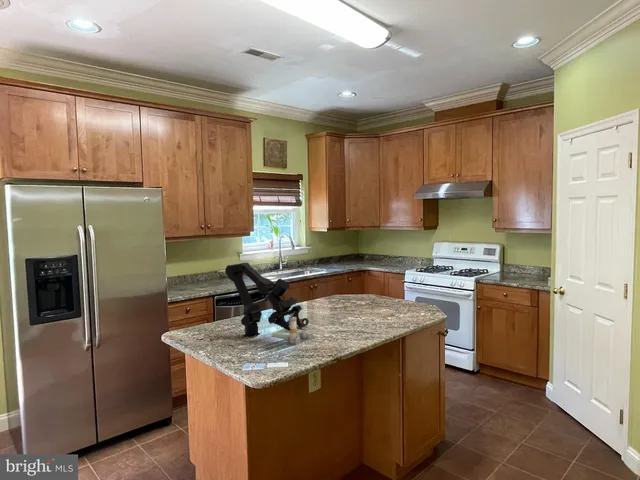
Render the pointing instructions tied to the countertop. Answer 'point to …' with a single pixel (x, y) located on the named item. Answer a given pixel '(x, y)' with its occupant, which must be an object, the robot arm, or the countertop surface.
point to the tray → (278, 334)
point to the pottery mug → (301, 323)
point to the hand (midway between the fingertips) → (295, 328)
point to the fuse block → (299, 339)
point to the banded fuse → (292, 329)
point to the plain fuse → (305, 332)
